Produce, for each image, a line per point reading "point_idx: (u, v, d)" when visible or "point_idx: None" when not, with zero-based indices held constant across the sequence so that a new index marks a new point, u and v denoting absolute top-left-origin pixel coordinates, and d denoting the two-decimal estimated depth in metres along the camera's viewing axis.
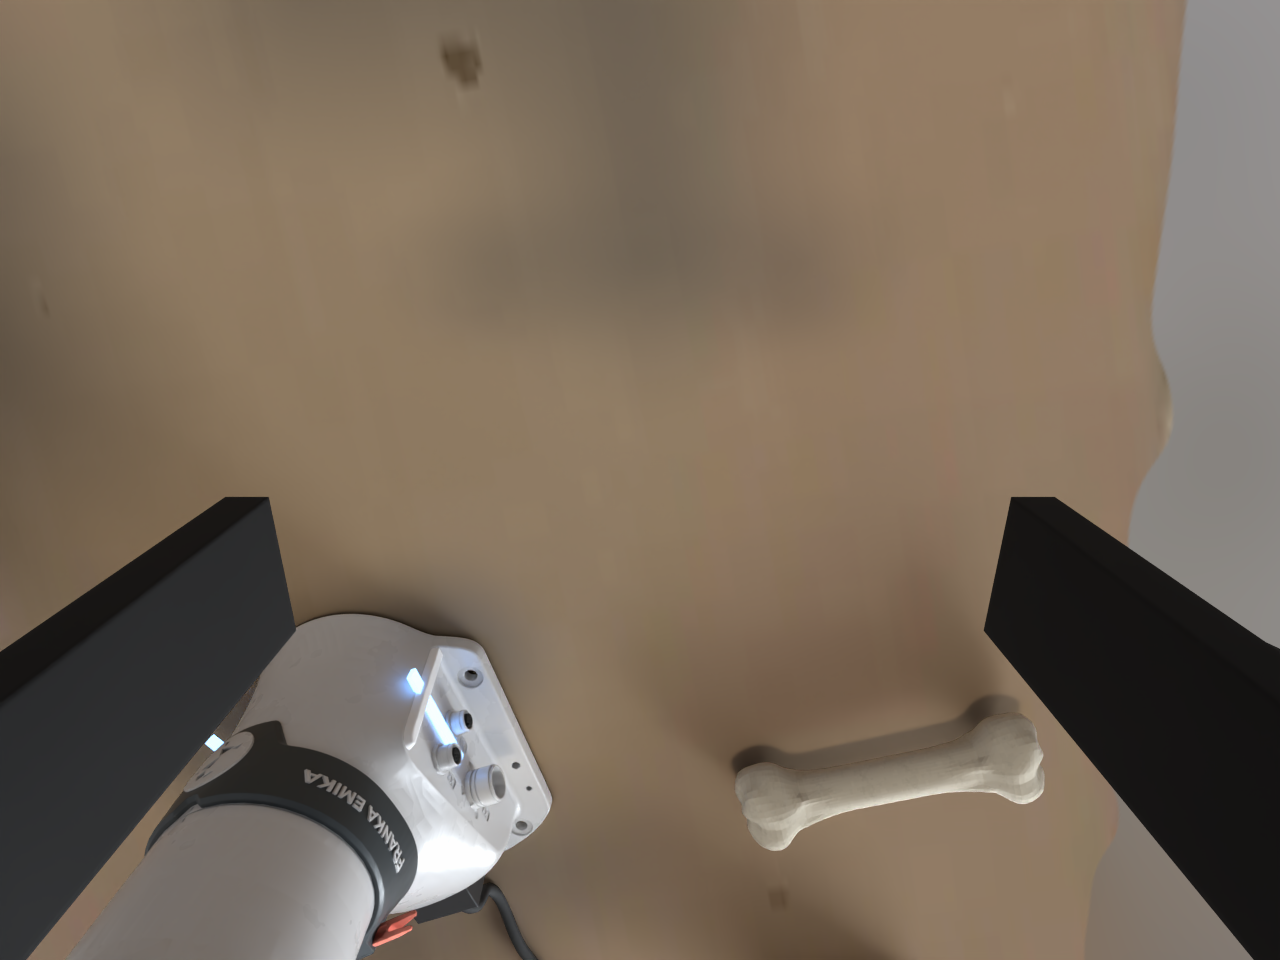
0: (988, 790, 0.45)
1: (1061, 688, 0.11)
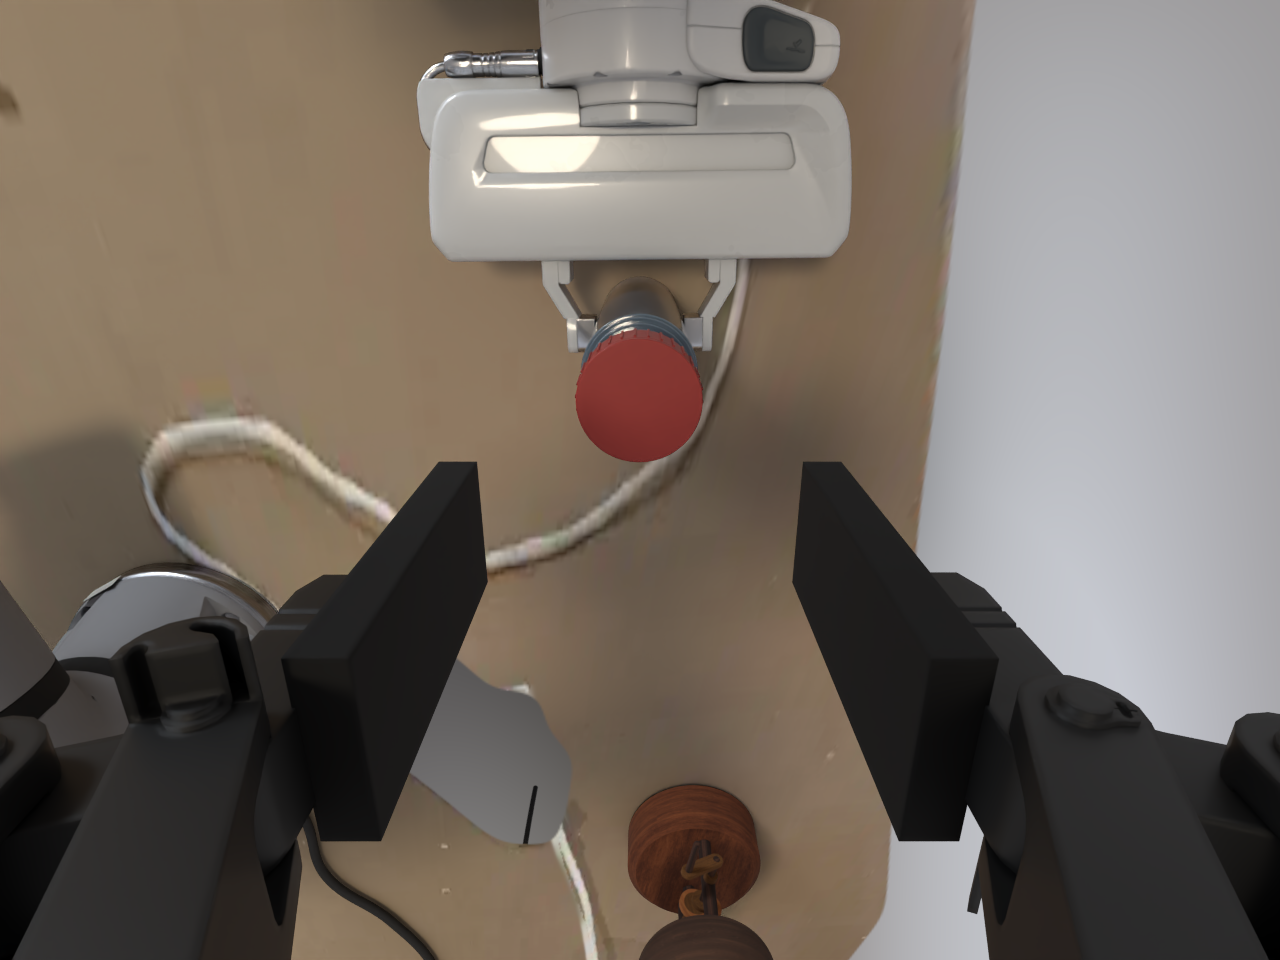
0: None
1: (822, 622, 0.12)
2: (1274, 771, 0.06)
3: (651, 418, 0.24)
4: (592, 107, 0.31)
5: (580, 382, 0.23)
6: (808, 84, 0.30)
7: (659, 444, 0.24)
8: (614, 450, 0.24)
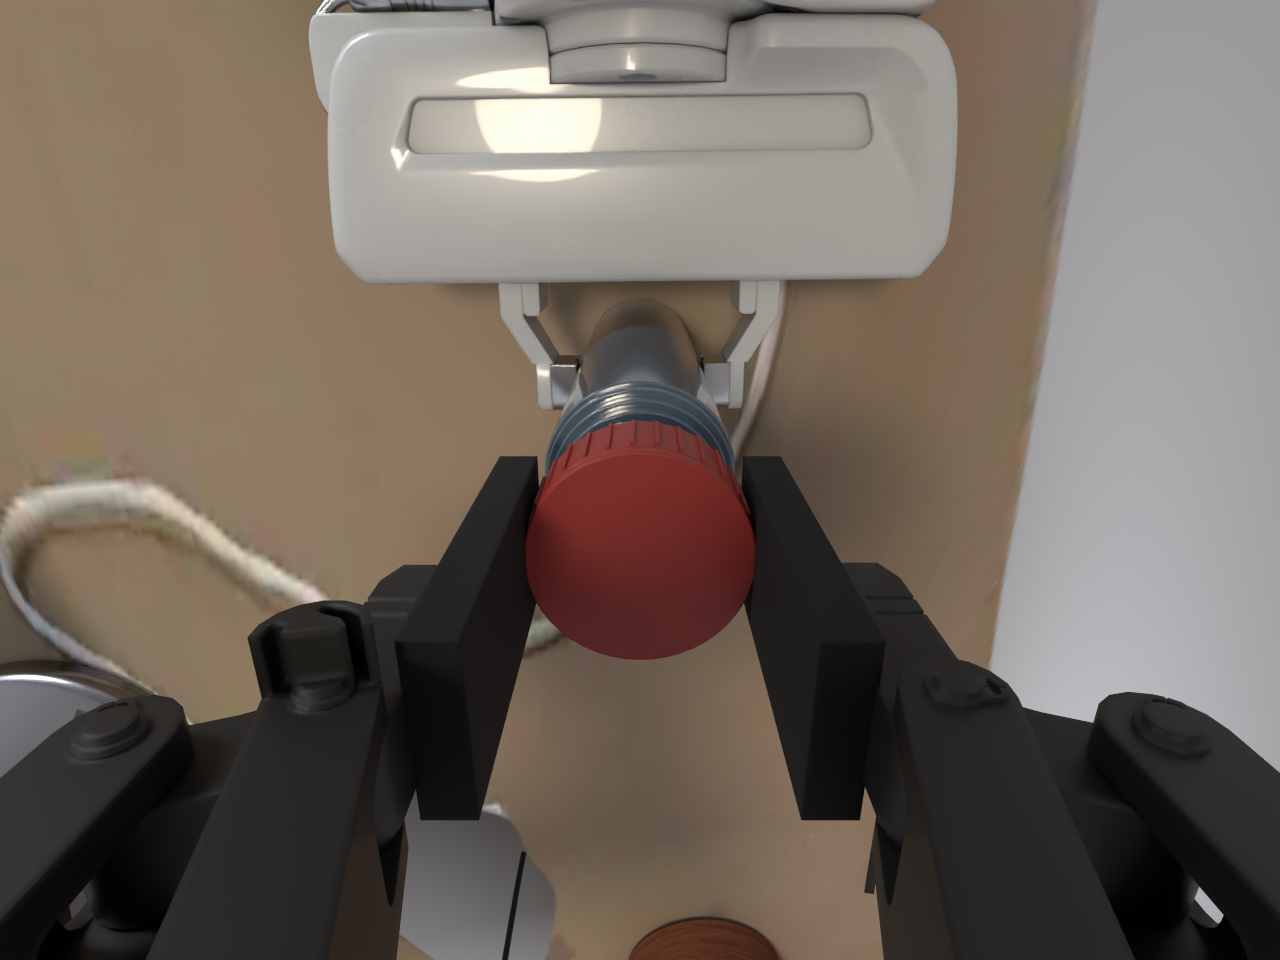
0: None
1: (755, 612, 0.13)
2: (1132, 751, 0.07)
3: (661, 588, 0.13)
4: (568, 52, 0.20)
5: (531, 527, 0.12)
6: (899, 15, 0.20)
7: (676, 631, 0.13)
8: (595, 641, 0.13)
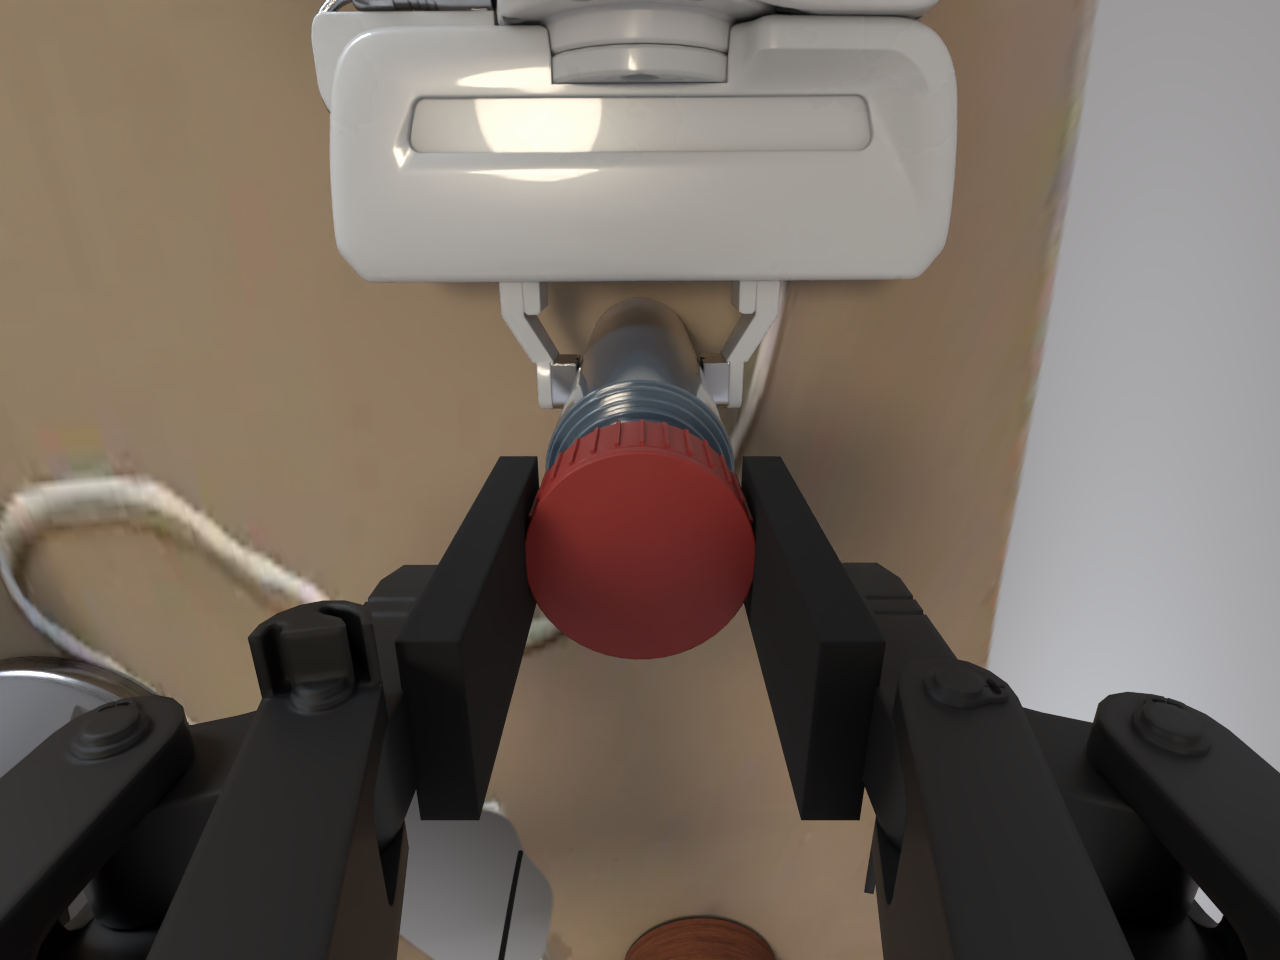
0: None
1: (754, 612, 0.13)
2: (1132, 751, 0.07)
3: (663, 536, 0.13)
4: (570, 52, 0.20)
5: (629, 656, 0.13)
6: (900, 18, 0.20)
7: (711, 511, 0.12)
8: (739, 584, 0.13)
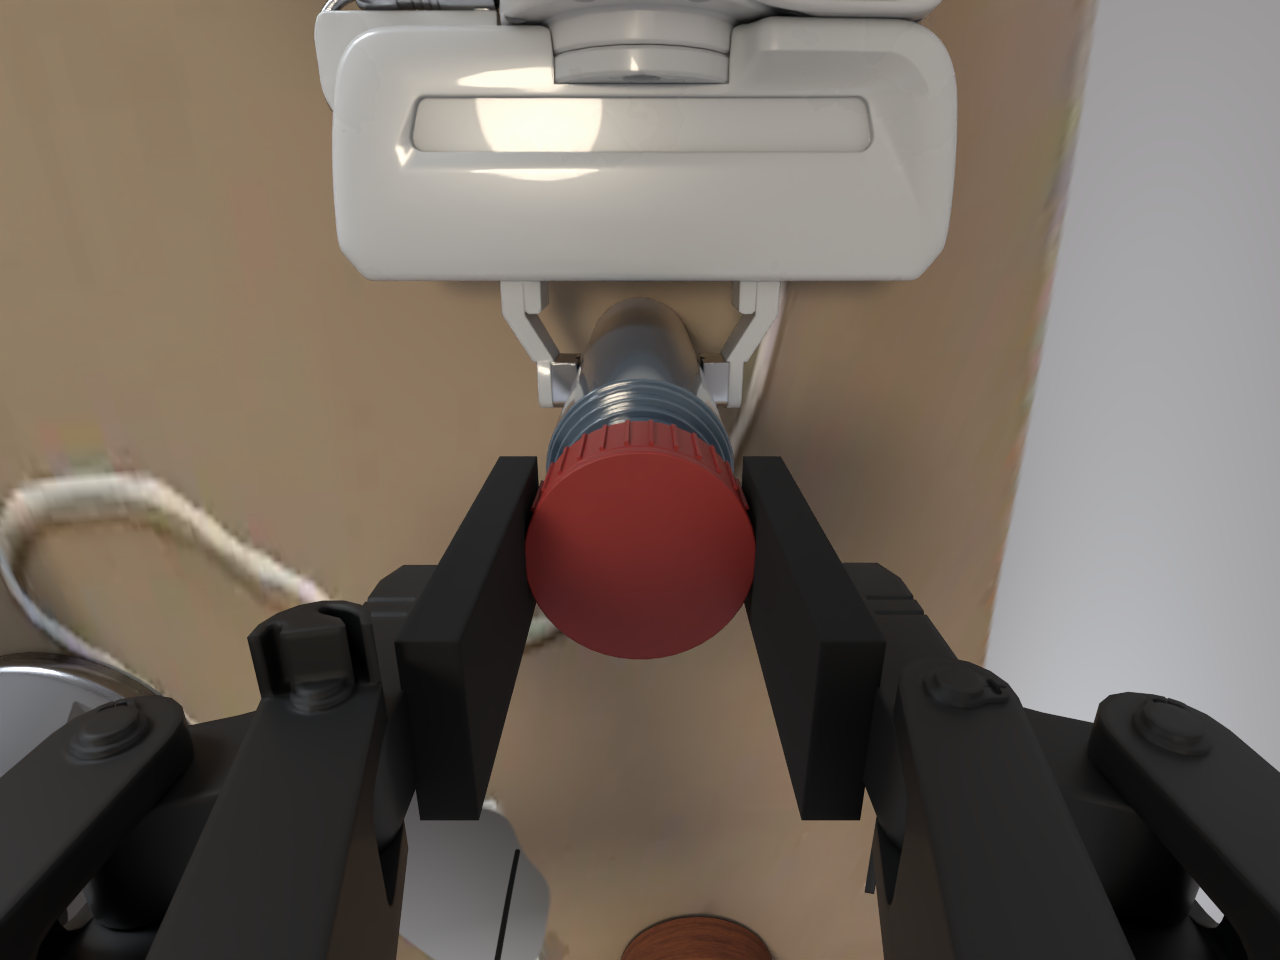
0: None
1: (755, 613, 0.13)
2: (1133, 751, 0.07)
3: (606, 547, 0.13)
4: (572, 52, 0.20)
5: (753, 548, 0.13)
6: (901, 20, 0.20)
7: (567, 512, 0.12)
8: (640, 465, 0.12)
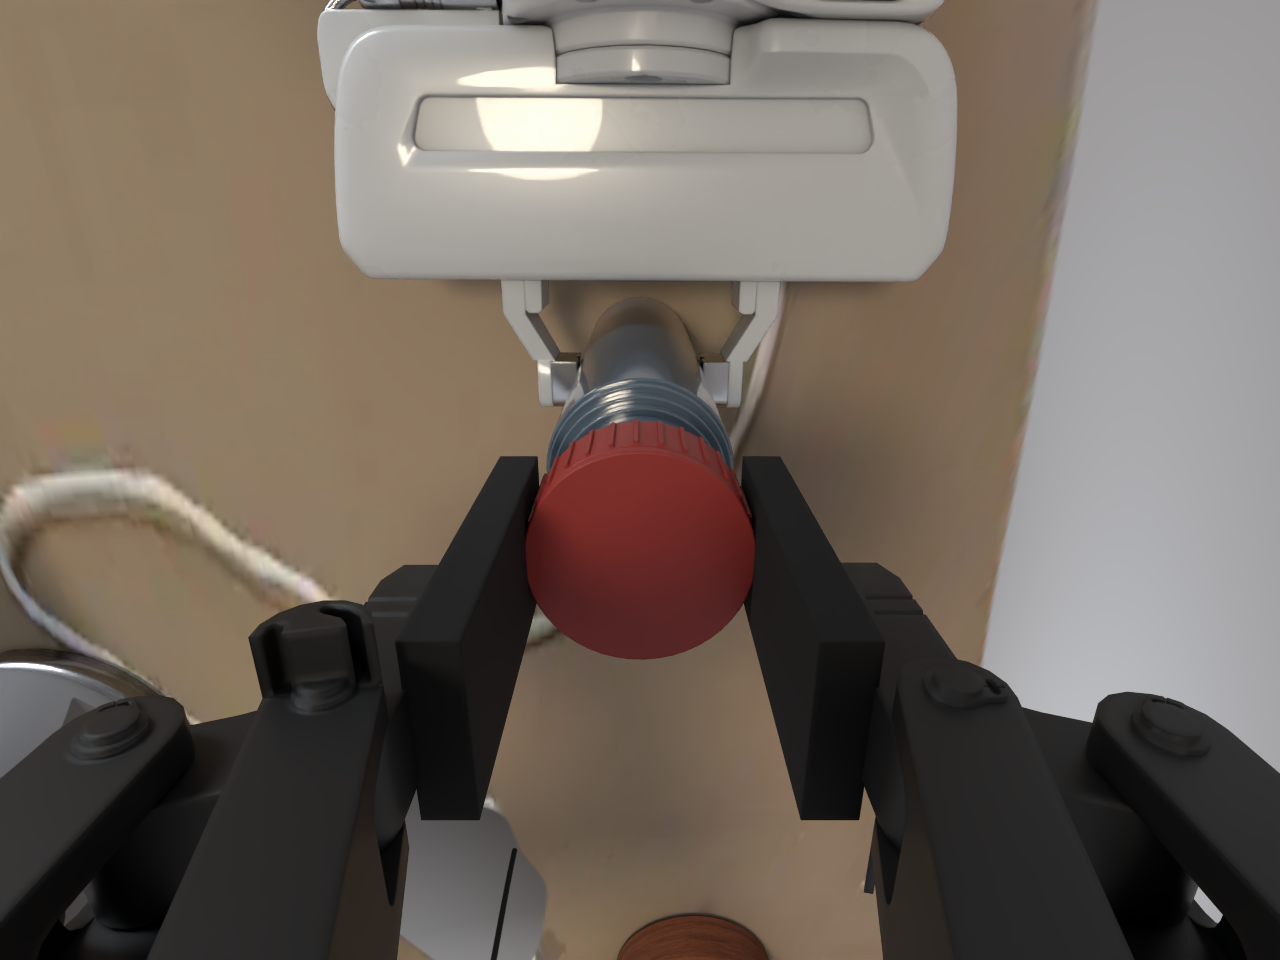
0: None
1: (754, 612, 0.13)
2: (1131, 751, 0.07)
3: (631, 593, 0.13)
4: (574, 53, 0.20)
5: (597, 462, 0.12)
6: (901, 23, 0.20)
7: (604, 631, 0.13)
8: (540, 583, 0.13)
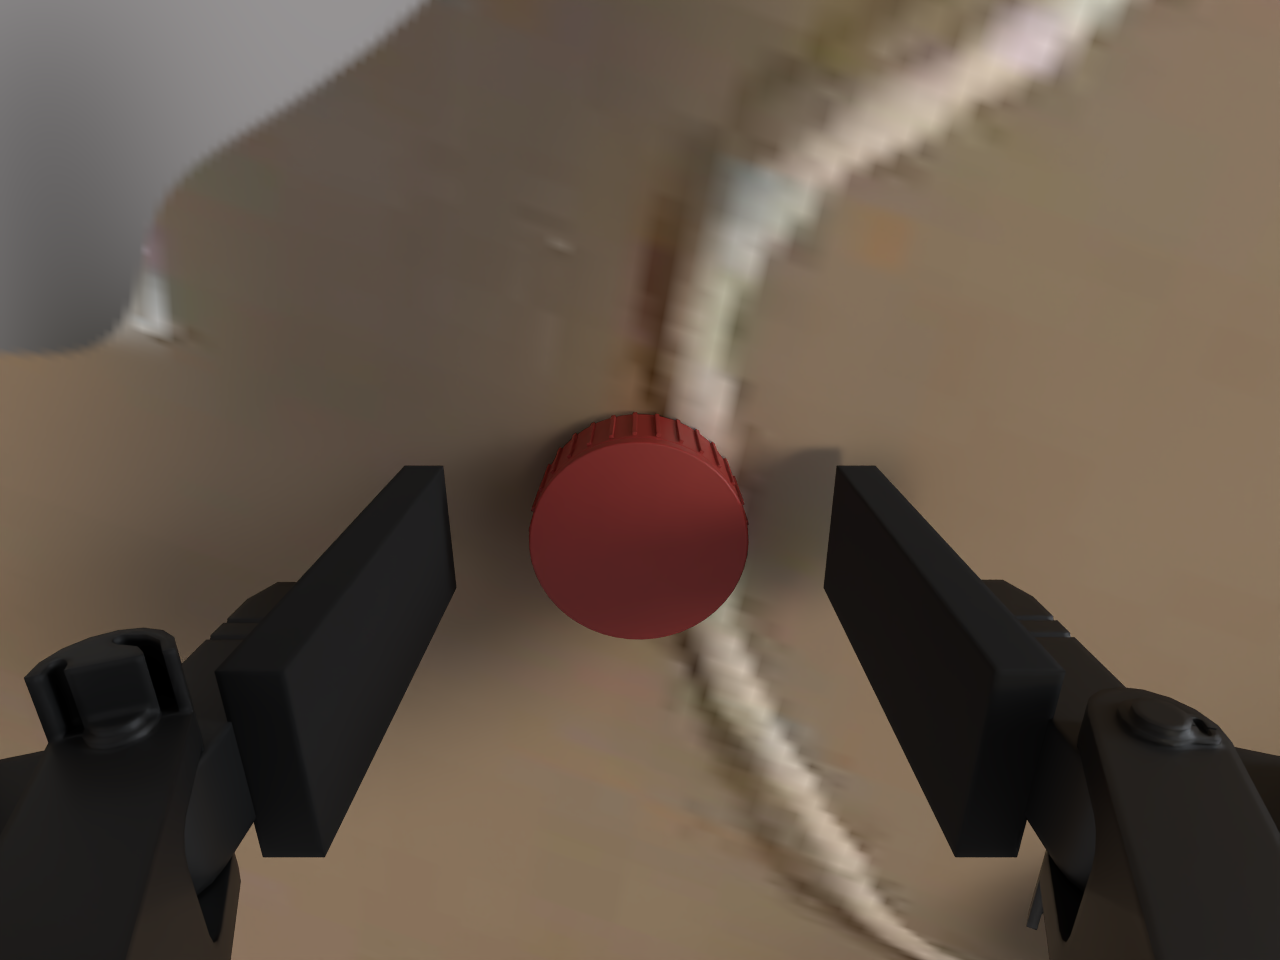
0: None
1: (860, 630, 0.12)
2: None
3: (630, 576, 0.14)
4: None
5: (598, 451, 0.13)
6: None
7: (605, 612, 0.14)
8: (545, 567, 0.14)
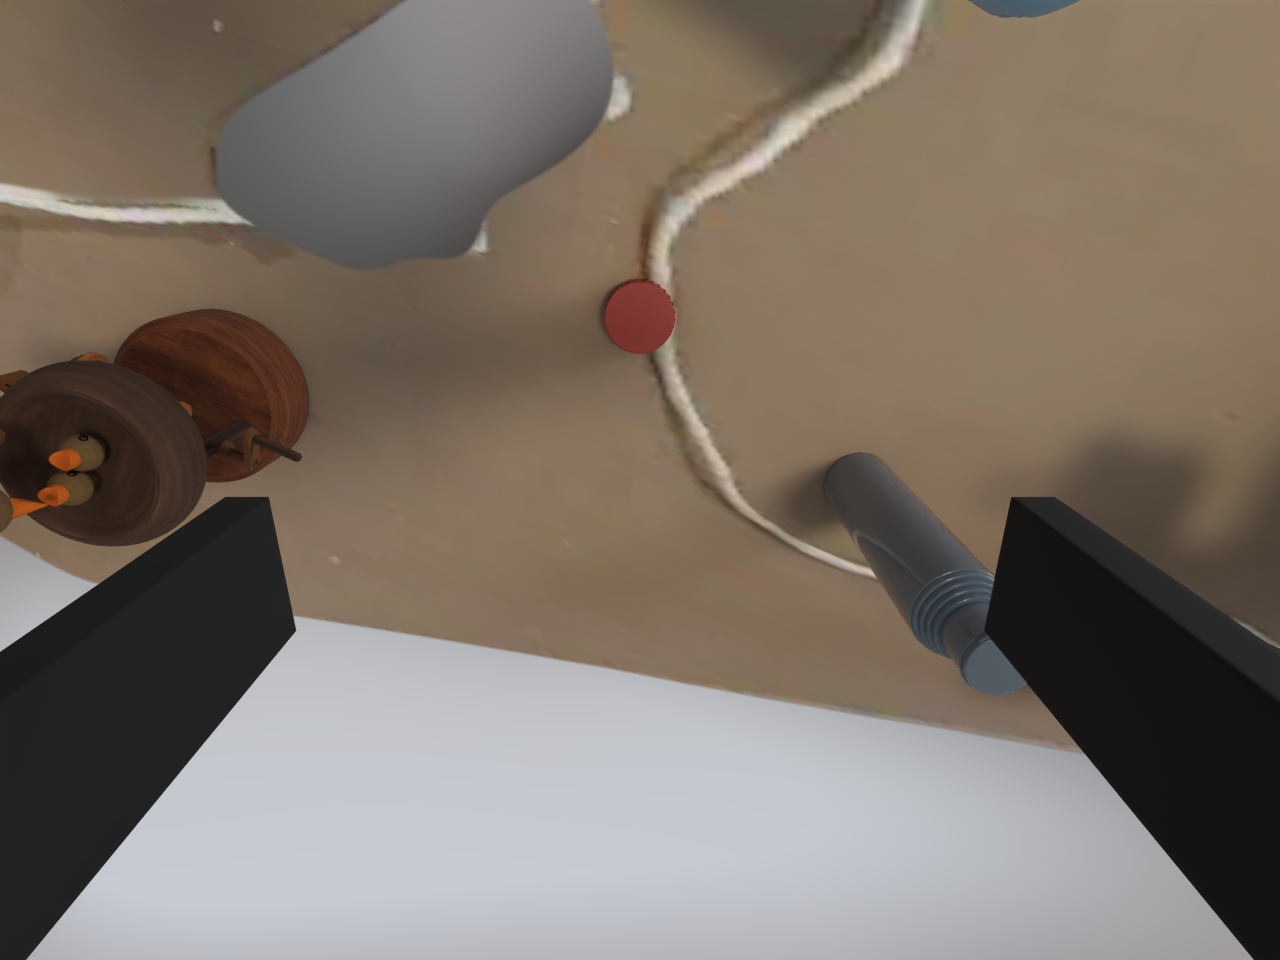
0: None
1: (1062, 688, 0.11)
2: None
3: (637, 329, 0.42)
4: None
5: (627, 285, 0.42)
6: None
7: (628, 343, 0.43)
8: (609, 325, 0.42)
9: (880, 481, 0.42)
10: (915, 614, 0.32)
